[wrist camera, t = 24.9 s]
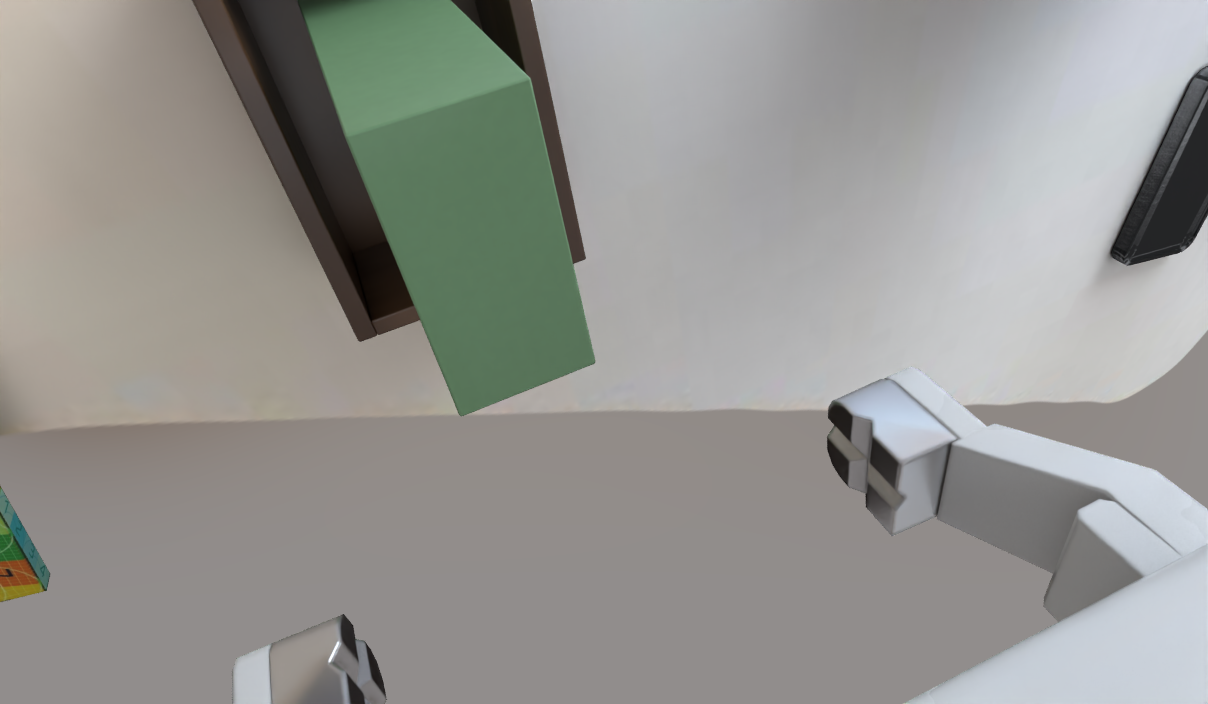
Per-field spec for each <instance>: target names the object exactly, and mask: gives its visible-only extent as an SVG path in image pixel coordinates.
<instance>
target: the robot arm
mask: <svg viewBox="0 0 1208 704" xmlns="http://www.w3.org/2000/svg"><path fill="white" fill-rule="evenodd" d="M828 418H829V419H830V420H831V422H832V423H833V424H834V427H833V428H832V430H831V431H830V433H829V435H828V436H827V449H828V453H829V456H830V459H831V462H832V464H833V466H834V468H835V470H836V471H837V473H838V474H839V476H840V477H841V478H842V480H843V481H844V482H845V483H846V484H847V486H848V487H849V488H852V489H855V490H858V491H861V492H863V493H866V507H867V509H868V510H869V511H870V512H871V513H872V514H873V515H874V517H875V518H876V519H877V520H878V521H879V522H880V523H881V524H882V526H883V527H884V528H885V529H886V530H887V531H888V532H889V534H890V535H891V536H893V535H896V534H898V533H900V532H903V531H905V530H907V529H909V528H912V527H914V526H916V525H918V524H920V523H923V522H925V521H927V520H930V519H932V518H934V517H936V516H937V519H938V520H940V521H942V522H944V523H947V524H948V525H950V526H953V527H955V528H957V529H959V530H961V531H963V532H966V533H968V534H970V535H972V536H974V537H976V538H978V539H980V540H983V541H985V542H987V543H989V544H991V545H993V546H995V547H997V548H1000V549H1002V550H1004V551H1006V552H1008V553H1011V554H1012V555H1015V556H1017V557H1019V558H1021V559H1023V560H1025V561H1027V562H1029V563H1032V564H1034V565H1036V566H1038V567H1040V568H1042V569H1045V570H1047V571H1049V572H1051V573H1053V576H1052V578H1051V581H1050V583H1049V586H1048V589H1047V591H1046V594H1045V596H1044V607H1045V608H1046V610H1047V611H1048V612H1049V613H1050V614H1051V615H1052V616H1053V617H1054V618H1055V619H1056V620H1057V621H1058V623H1056V624H1054V625H1052V626H1050V627H1048V628H1046V629H1044V630H1042V631H1040V632H1039V633H1037V634H1035V635H1033V636H1031V637H1029V638H1027V639H1025V640H1023V641H1022V642H1020V643H1018V644H1016V645H1014V646H1012V647H1010V648H1008V649H1006V650H1005V651H1003V652H1001V653H999V654H997V655H995V656H993V657H991V658H989V659H987V660H985V661H983V662H982V663H980V664H978V665H976V666H974V667H972V668H970V669H968V670H966V671H964V672H963V673H961V674H959V675H957V676H955V677H953V678H951V679H950V680H948V681H945V682H944V683H942V684H940V685H938V686H936V687H934V688H932V689H930V690H928V691H927V692H925V693H923V694H921V695H919V696H917V697H915V698H913V699H911V700H910V701H907V702H906V703H904V704H1208V509H1206V508H1205V507H1204V506H1202V505H1201V504H1200V503H1199V502H1197V501H1196V500H1194V499H1193V498H1192V497H1190V496H1189V495H1188V494H1186V493H1185V492H1184V491H1182V490H1181V489H1180V488H1179V487H1177V486H1176V485H1175V484H1173V483H1172V482H1171V481H1169V480H1168V479H1167V478H1165V477H1164V476H1163V475H1161V474H1160V473H1159V472H1157V471H1156V470H1154V469H1151V468H1147V467H1144V466H1141V465H1137V464H1134V463H1130V462H1127V461H1123V460H1120V459H1116V458H1113V457H1109V456H1106V455H1102V454H1099V453H1095V452H1092V451H1089V450H1085V449H1082V448H1078V447H1075V446H1071V445H1068V444H1064V443H1061V442H1057V441H1054V440H1050V439H1047V438H1043V437H1040V436H1037V435H1033V434H1029V433H1026V432H1023V431H1019V430H1016V429H1012V428H1008V427H1005V426H1002V425H998V424H992V425H990V426H986V425H985V424H983V423H982V422H981V421H980V420H978V419H977V418H976V417H975V416H974V415H973V414H972V413H970V412H969V411H968V410H967V409H966V408H965V407H963V406H962V405H961V404H960V403H959V402H957V401H956V400H955V399H954V398H953V397H952V396H950V395H949V394H948V393H947V392H946V391H945V390H943V389H942V388H941V387H940V386H939V385H937V384H936V383H935V382H934V381H933V380H932V379H930V378H929V377H928V376H927V375H926V374H924V373H923V372H922V371H921V370H920V369H917V368H914V367H910V368H907V369H904V370H902V371H900V372H898V373H895V374H893V375H891V376H889V377H886V378H885V379H880V380H878V381H875V382H873V383H871V384H869V385H867V386H864V387H862V388H860V389H858V390H856V391H853V392H851V393H849V394H847V395H844V396H842V397H840V398H838V399H836V400H833V401H832V402H831V404H830V406H829V410H828ZM386 700H387V699H386V694H385V689H384V683H383V680H382V676H381V673H380V670H379V667H378V664H377V661H376V659H375V657H374V655H373V653H372V651H371V649H370V648H369V647H368V645H367V644H366V642H365V641H362V640H357V639H355V634H354V628H353V625H352V624H351V622H350V621H349V620H348V619H347V618H346V616H345V615H344V614H343V615H340V616H338V617H336V618H333V619H331V620H328V621H326V622H323V623H321V624H318V625H316V626H314V627H311V628H308V629H306V630H304V631H301V632H299V633H296V634H294V635H291V636H289V637H286V638H284V639H281V640H279V641H277V642H274V643H271V644H269V645H267V646H264V647H262V648H260V649H257V650H255V651H253V652H250V653H248V654H246V655H244V656H241V657H238V658H236V661H235V664H234V668H233V671H232V704H385V702H386Z"/></svg>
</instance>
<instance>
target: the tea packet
mask: <svg viewBox="0 0 1208 704" xmlns="http://www.w3.org/2000/svg"><path fill="white" fill-rule="evenodd" d="M297 1H298V4H299V7H300V10H301V13H302V16H303V18H304V21H305V24H306V27H307V30H308V33H309V36H310V38H311V41H312V44H313V47H314V50H315V53H316V56H317V58H318V61H319V64H320V67H321V70H322V73H323V76H324V78H325V81H326V84H327V87H328V90H329V93H330V96H331V98H332V101H333V104H334V107H335V110H336V113H337V116H338V118H339V121H340V124H341V127H342V130H343V133H344V136H345V138H346V141H347V143H348V146H349V148H350V150H351V153H352V155H353V158H354V160H355V163H356V165H357V167H358V170H359V172H360V175H361V177H362V180H363V182H364V184H365V187H366V189H367V192H368V194H369V197H370V199H371V202H372V204H373V206H374V209H375V211H376V214H377V216H378V219H379V221H380V223H381V226H382V228H383V231H384V233H385V236H386V238H387V240H388V243H389V245H390V248H391V250H392V253H393V255H394V257H395V260H396V262H397V265H398V267H399V270H400V272H401V274H402V277H403V279H404V282H405V284H406V287H407V289H408V291H409V294H410V296H411V299H412V301H413V304H414V306H415V308H416V311H417V313H418V316H419V318H420V321H421V323H422V325H423V328H424V330H425V333H426V335H427V338H428V340H429V342H430V345H431V347H432V350H433V352H434V355H435V357H436V359H437V362H438V364H439V367H440V369H441V372H442V374H443V377H444V379H445V381H446V384H447V386H448V389H449V391H450V394H451V396H452V398H453V401H454V403H455V406H456V408H457V411H458V413H459V415H460V416H464V415H466V414H469V413H472V412H474V411H477V410H479V409H482V408H484V407H487V406H489V405H492V404H494V403H497V402H499V401H502V400H504V399H507V398H509V397H512V396H514V395H517V394H519V393H522V392H524V391H527V390H529V389H532V388H534V387H537V386H539V385H542V384H544V383H547V382H549V381H552V380H554V379H557V378H559V377H562V376H564V375H567V374H569V373H572V372H574V371H577V370H580V369H582V368H585V367H587V366H590V365H592V364H594V363H595V357H594V353H593V349H592V344H591V340H590V336H589V331H588V327H587V323H586V318H585V314H584V309H583V305H582V301H581V296H580V292H579V288H578V283H577V279H576V275H575V270H574V266H573V261H572V257H571V253H570V248H569V244H568V240H567V235H566V231H565V227H564V222H563V218H562V214H561V209H560V205H559V200H558V196H557V192H556V187H555V183H554V179H553V174H552V170H551V166H550V161H549V157H548V153H547V148H546V144H545V139H544V135H543V131H542V126H541V122H540V118H539V113H538V109H537V105H536V100H535V96H534V91H533V87H532V83H531V79H530V77H529V76H528V75H527V74H526V73H525V72H524V71H522V70H521V69H520V68H519V67H518V66H517V65H516V64H515V63H514V62H513V61H512V60H511V59H510V58H509V57H508V56H507V55H506V54H505V53H504V52H503V51H502V50H501V49H500V48H499V47H498V46H497V45H496V44H495V43H494V42H493V41H492V40H491V39H490V38H489V37H488V36H487V35H486V34H485V33H484V32H483V31H482V30H481V29H480V28H479V27H478V26H476V25H475V24H474V23H473V22H472V21H471V20H470V19H469V18H468V17H467V16H466V15H465V14H464V13H463V12H462V11H461V10H460V9H459V8H458V7H457V6H456V5H455V4H454V3H453V2H452V1H451V0H297Z"/></svg>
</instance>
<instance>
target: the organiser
mask: <svg viewBox="0 0 1208 704" xmlns="http://www.w3.org/2000/svg"><path fill="white" fill-rule="evenodd" d="M192 1H193V3H194V5H195V7H196V9H197V11H198V13H199V15H200V17H201V20H202V22H203V24H204V26H205V28H206V30H207V32H208V34H209V36H210V38H211V40H212V42H213V44H214V46H215V48H216V50H217V52H218V54H219V56H220V58H221V60H222V63H223V65H224V67H225V69H226V71H227V73H228V75H229V77H230V79H231V81H232V83H233V85H234V87H235V89H236V91H237V93H238V95H239V97H240V99H241V101H242V104H243V106H244V108H245V110H246V112H247V114H248V116H249V118H250V120H251V122H252V124H253V126H254V128H255V130H256V132H257V134H258V136H259V138H260V140H261V142H262V145H263V147H264V149H265V151H266V153H267V155H268V157H269V159H270V161H271V163H272V165H273V167H274V169H275V171H276V173H277V175H278V177H279V179H280V181H281V183H282V186H283V188H284V190H285V192H286V194H287V196H288V198H289V200H290V202H291V204H292V206H293V208H294V210H295V212H296V214H297V216H298V218H299V220H300V222H301V224H302V227H303V229H304V231H305V233H306V235H307V237H308V239H309V241H310V243H311V245H312V247H313V249H314V251H315V253H316V255H317V257H318V259H319V261H320V263H321V265H322V268H323V270H324V272H325V274H326V276H327V278H328V280H329V282H330V284H331V286H332V288H333V290H334V292H335V294H336V296H337V298H338V300H339V302H340V304H341V306H342V308H343V311H344V313H345V315H346V317H347V319H348V321H349V323H350V325H351V327H352V329H353V331H354V333H355V335H356V337H357V339H358V341H359V342H361V341H364V340H367V339H369V338H372V337H375V336H376V335H377V334H378V335H380V334H383V333H386V332H388V331H391V330H394V329H397V328H399V327H402V326H405V325H407V324H410V323H413V322H416V321H418V320H420V318H419V316H418V313H417V311H416V308H415V306H414V304H413V301H412V299H411V296H410V294H409V291H408V289H407V287H406V284H405V282H404V279H403V277H402V274H401V272H400V270H399V267H398V265H397V262H396V260H395V257H394V255H393V253H392V250H391V248H390V245H389V243H388V240H387V238H386V236H385V233H384V231H383V228H382V226H381V223H380V221H379V219H378V216H377V214H376V211H375V209H374V206H373V204H372V202H371V199H370V197H369V194H368V192H367V189H366V187H365V184H364V182H363V180H362V177H361V175H360V172H359V170H358V167H357V165H356V163H355V160H354V158H353V155H352V153H351V150H350V148H349V146H348V143H347V141H346V138H345V136H344V133H343V130H342V127H341V124H340V121H339V118H338V116H337V113H336V110H335V107H334V104H333V101H332V98H331V96H330V93H329V90H328V87H327V84H326V81H325V78H324V76H323V73H322V70H321V67H320V64H319V61H318V58H317V56H316V53H315V50H314V47H313V44H312V41H311V38H310V36H309V33H308V30H307V27H306V24H305V21H304V18H303V16H302V13H301V10H300V7H299V4H298V1H297V0H192ZM451 1H452V2H453V3H454V4H455V5H456V6H457V7H458V8H459V9H460V10H461V11H462V12H463V13H464V14H465V15H466V16H467V17H468V18H469V19H470V20H471V21H472V22H473V23H474V24H475V25H476V26H478V27H479V28H480V29H481V30H482V31H483V32H484V33H485V34H486V35H487V36H488V37H489V38H490V39H491V40H492V41H493V42H494V43H495V44H496V45H497V46H498V47H499V48H500V49H501V50H502V51H503V52H504V53H505V54H506V55H507V56H508V57H509V58H510V59H511V60H512V61H513V62H514V63H515V64H516V65H517V66H518V67H519V68H520V69H521V70H522V71H524V72H525V73H526V74H527V75H528V76H529V77H530V79H531V83H532V87H533V91H534V96H535V100H536V105H537V109H538V113H539V118H540V122H541V126H542V131H543V135H544V139H545V144H546V148H547V153H548V157H549V161H550V166H551V170H552V174H553V179H554V183H555V187H556V192H557V196H558V200H559V205H560V209H561V214H562V218H563V222H564V227H565V231H566V235H567V240H568V244H569V248H570V253H571V257H572V261H573V264H574V263H577V262H579V261H582V260H585V259H586V257H585V252H584V247H583V243H582V238H581V233H580V228H579V224H578V219H577V214H576V210H575V205H574V200H573V196H572V191H571V186H570V181H569V177H568V172H567V167H566V163H565V158H564V153H563V148H562V144H561V139H560V134H559V130H558V125H557V120H556V116H555V111H554V106H553V101H552V97H551V92H550V87H549V83H548V78H547V73H546V69H545V64H544V59H543V54H542V50H541V45H540V40H539V36H538V31H537V26H536V22H535V17H534V12H533V7H532V3H531V0H451Z"/></svg>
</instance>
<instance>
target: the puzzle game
mask: <svg viewBox="0 0 1208 704" xmlns="http://www.w3.org/2000/svg"><path fill="white" fill-rule="evenodd" d="M49 577H50V572H49V571H48V569H47V567H46V565H45V564H44V562H43V560H42V558H41V557H40V555H39V553H38V552H37V550H36V548H35V546H34V544H33V543H32V541H31V539H30V537H29V536H28V534H27V532H26V531H25V529H24V527H23V525H22V523H21V521H20V520H19V518H18V516H17V514H16V513H15V511H14V509H13V507H12V506H11V504H10V502H9V501H8V499H7V497H6V495H5V493H4V492H3V490H2V488H1V486H0V602H2V601H6V600H11V599H14V598H19V597H23V596H27V595H31V594H35V593H39V592H43V591H47V587H48V582H49Z"/></svg>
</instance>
